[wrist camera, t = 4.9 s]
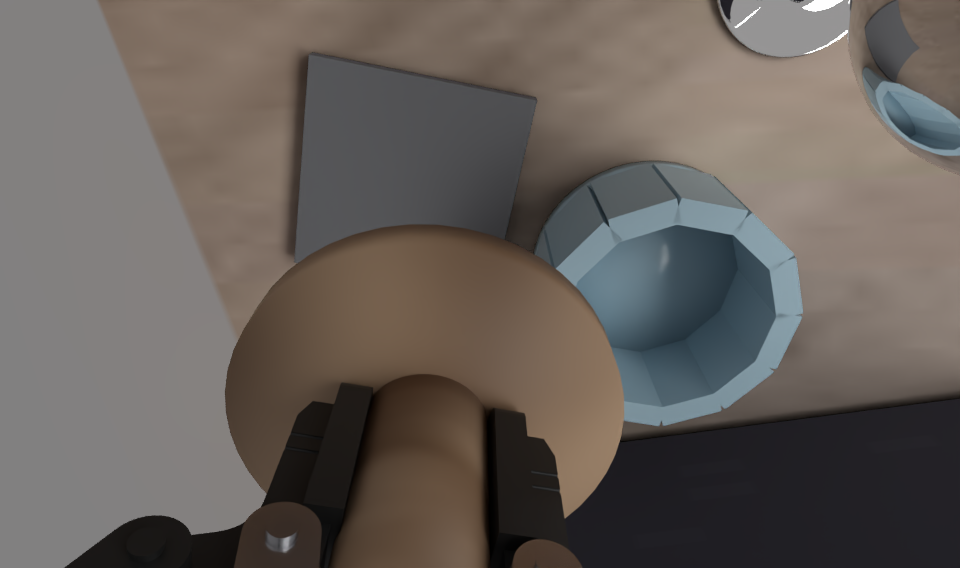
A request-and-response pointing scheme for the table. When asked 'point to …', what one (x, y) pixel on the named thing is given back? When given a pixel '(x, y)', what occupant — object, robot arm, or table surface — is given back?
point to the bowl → (676, 285)
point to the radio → (783, 496)
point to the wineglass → (875, 58)
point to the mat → (405, 152)
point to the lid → (427, 382)
